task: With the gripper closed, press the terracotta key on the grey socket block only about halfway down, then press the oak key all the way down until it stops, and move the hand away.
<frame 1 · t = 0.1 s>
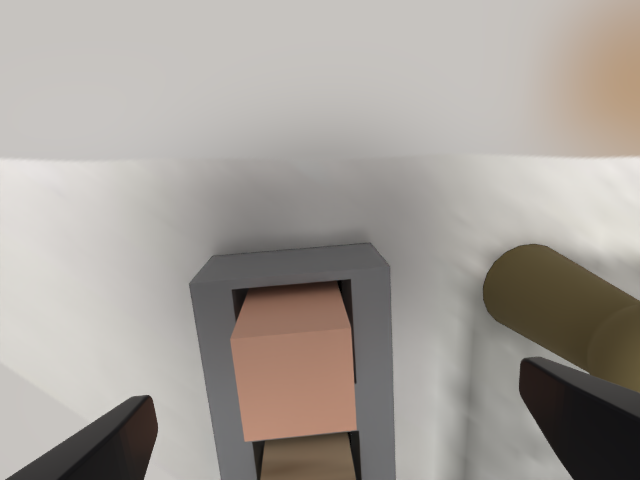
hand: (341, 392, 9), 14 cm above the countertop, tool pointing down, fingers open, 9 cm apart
olive brown cylinder: (524, 286, 25), on the countertop
terracotta key: (296, 350, 18), point 6 cm above the countertop, slide at 0.0 cm
grey socket block: (302, 362, 25), on the countertop
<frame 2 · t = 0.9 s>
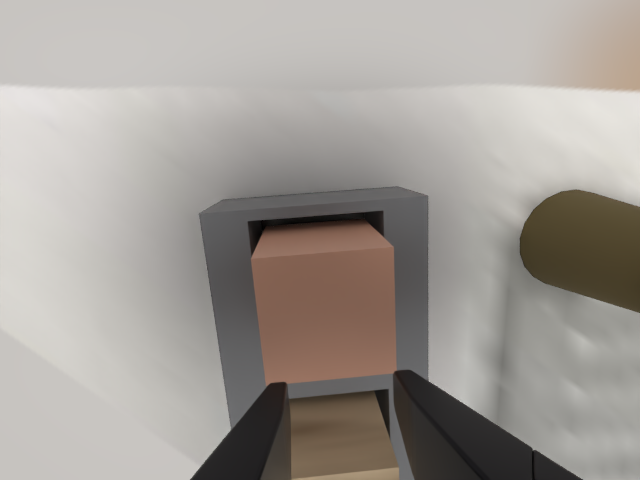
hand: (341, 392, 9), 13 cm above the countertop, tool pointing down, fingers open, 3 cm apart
oak key: (334, 464, 17), point 6 cm above the countertop, slide at 0.0 cm
olive brown cylinder: (565, 238, 22), on the countertop
terracotta key: (322, 289, 15), point 6 cm above the countertop, slide at 0.0 cm
grey socket block: (320, 321, 22), on the countertop
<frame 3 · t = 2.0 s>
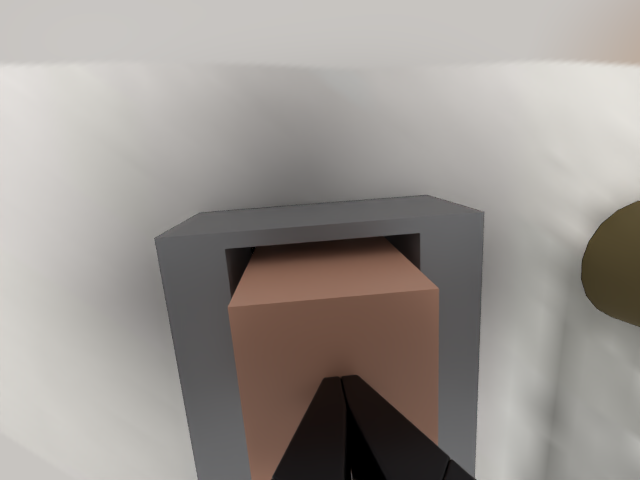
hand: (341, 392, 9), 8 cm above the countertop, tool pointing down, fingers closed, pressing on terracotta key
olive brown cylinder: (638, 260, 17), on the countertop
terracotta key: (330, 334, 11), point 5 cm above the countertop, slide at 0.9 cm, touching gripper
grey socket block: (326, 366, 18), on the countertop
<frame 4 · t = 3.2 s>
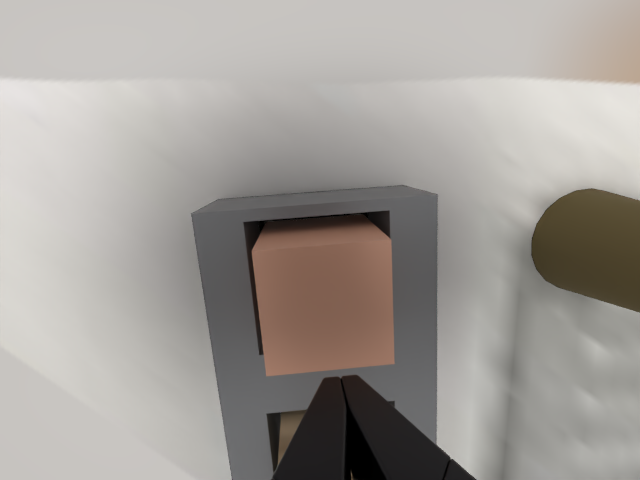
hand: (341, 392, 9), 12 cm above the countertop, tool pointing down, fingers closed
olive brown cylinder: (579, 239, 21), on the countertop
terracotta key: (321, 283, 16), point 5 cm above the countertop, slide at 1.4 cm
grey socket block: (321, 327, 21), on the countertop
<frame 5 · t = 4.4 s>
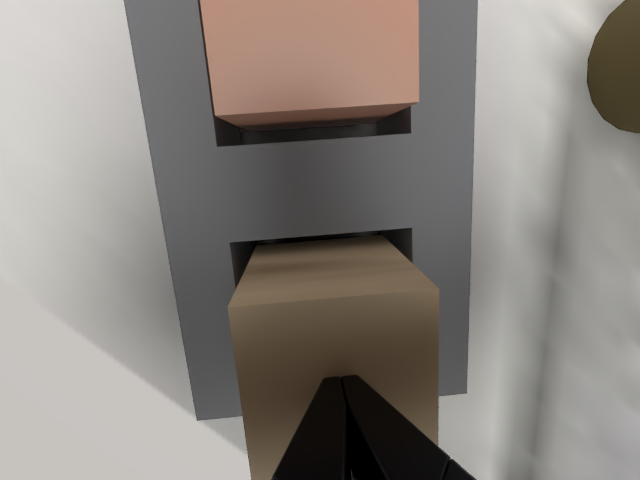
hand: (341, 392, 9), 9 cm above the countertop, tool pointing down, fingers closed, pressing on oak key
oak key: (330, 333, 11), point 6 cm above the countertop, slide at 0.1 cm, touching gripper
terracotta key: (307, 35, 11), point 5 cm above the countertop, slide at 1.4 cm
grey socket block: (312, 179, 16), on the countertop
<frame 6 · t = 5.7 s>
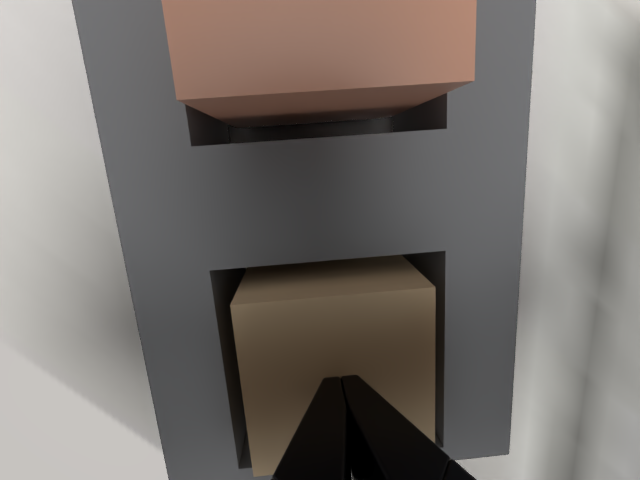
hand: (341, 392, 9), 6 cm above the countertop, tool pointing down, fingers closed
oak key: (330, 332, 12), point 3 cm above the countertop, slide at 3.1 cm
grey socket block: (315, 185, 14), on the countertop
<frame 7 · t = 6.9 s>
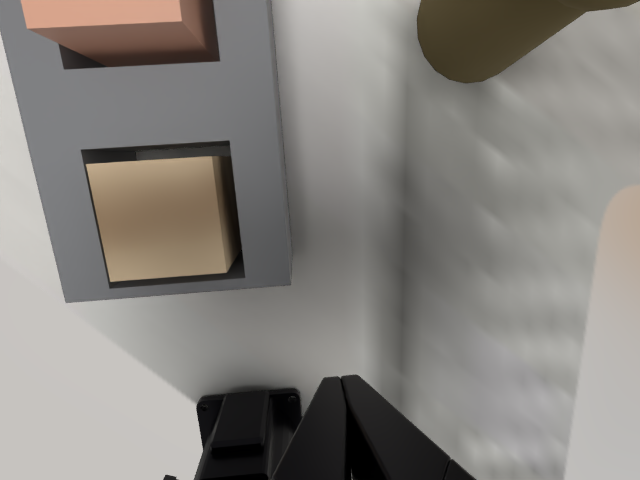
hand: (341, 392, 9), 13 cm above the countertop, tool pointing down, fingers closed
oak key: (181, 210, 17), point 3 cm above the countertop, slide at 3.1 cm
olive brown cylinder: (471, 23, 19), on the countertop
grey socket block: (187, 118, 19), on the countertop
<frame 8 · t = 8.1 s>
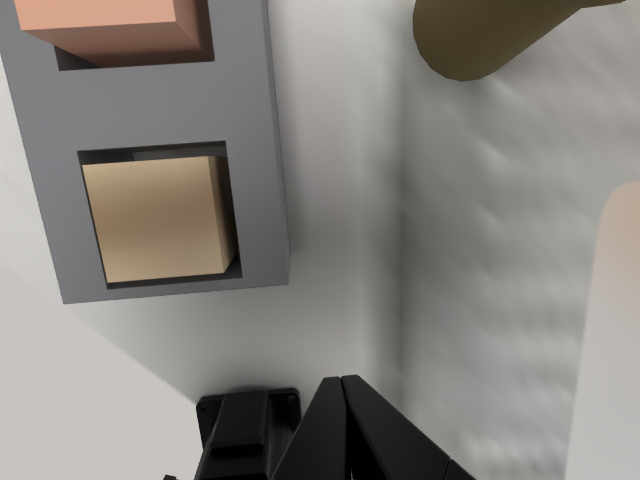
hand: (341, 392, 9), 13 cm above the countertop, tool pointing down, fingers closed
oak key: (178, 211, 17), point 3 cm above the countertop, slide at 3.1 cm
olive brown cylinder: (467, 21, 19), on the countertop
grey socket block: (183, 119, 19), on the countertop
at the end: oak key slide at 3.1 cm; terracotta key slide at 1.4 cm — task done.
